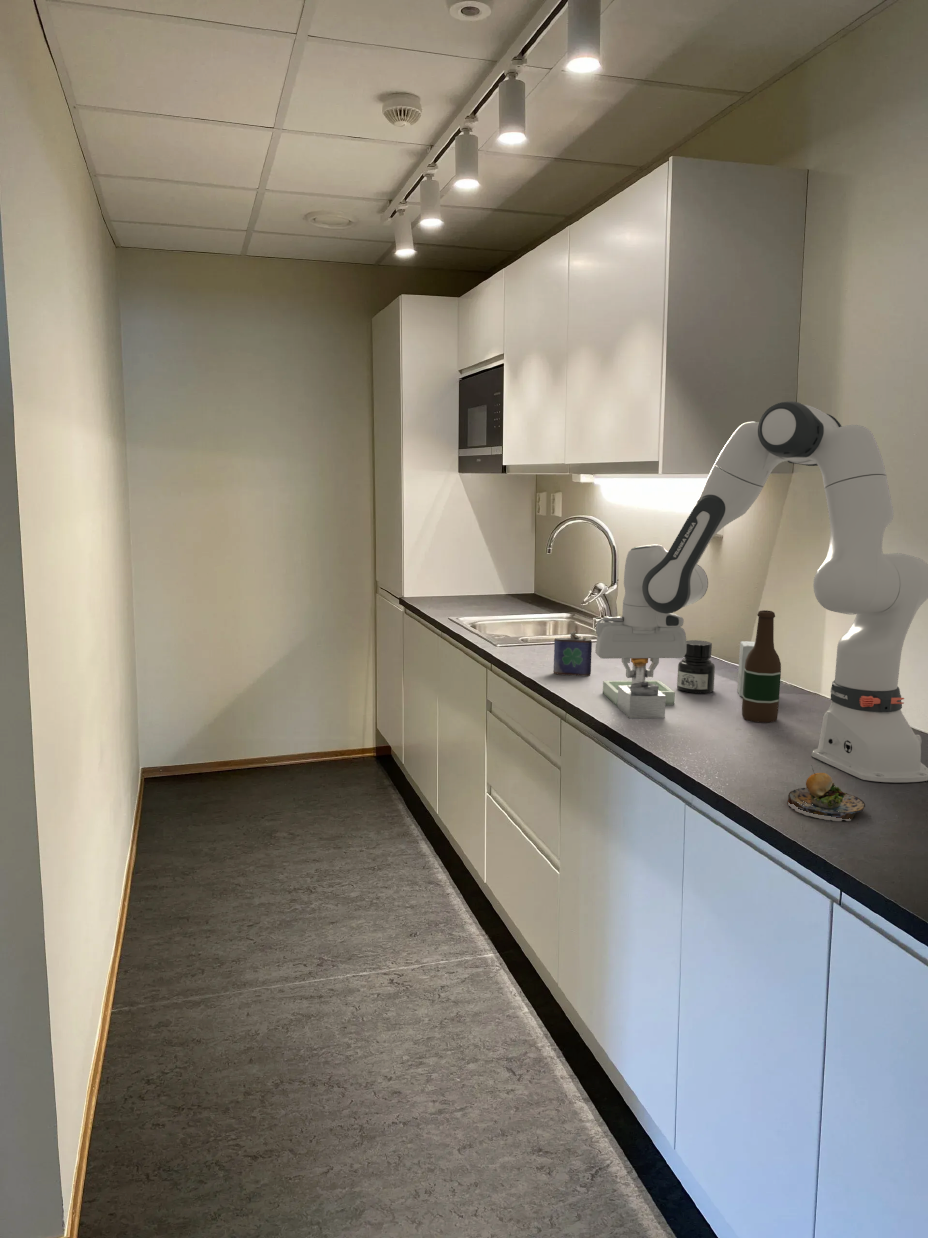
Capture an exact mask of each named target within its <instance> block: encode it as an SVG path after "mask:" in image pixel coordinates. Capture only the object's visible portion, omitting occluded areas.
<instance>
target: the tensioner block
mask: <svg viewBox="0 0 928 1238" xmlns="http://www.w3.org/2000/svg"><path fill="white" fill-rule="evenodd" d="M665 702H666V696H665V695H664V694H663V693H662V692H660V691H659V690H658V686H657V685H655V684H650V683H648V682H641V683H634V684H631V686H618V701H617V705H616V706H617V707H616V708H618V709H619V710H620V711H621V712H622V713H623V714H624V715H625V716H626V717H627V718H628V717H629V718H628V719H666V705H665Z"/></svg>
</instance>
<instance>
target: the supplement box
mask: <svg viewBox="0 0 928 1238" xmlns="http://www.w3.org/2000/svg"><path fill="white" fill-rule="evenodd" d="M754 644H755V641H749V640H747V641H743V640H742V641H740V643H739V656H738V657H739V659H738V670H737V671H738V672H737V673H738V675H737V689H736V691H737V693H738V694H739V697H741V698H743V684H744V668H745V661H746V658H747V656H748V654H749V652H750V651H751V650H752V649H753V647H754Z"/></svg>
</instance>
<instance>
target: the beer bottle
mask: <svg viewBox="0 0 928 1238" xmlns="http://www.w3.org/2000/svg"><path fill="white" fill-rule="evenodd" d="M756 614H757V617H758V620H757V626H756V635H755V641H754V642H755V644H754V647H753V649H752V650H751V651H750V652H749V654H748V656H747V658H746V661H745V668H744V684H743V697H742V701H741V702H742V703H741V704H742V705H741V715H742V718H743V719H744V720H745V721H750V722H752V723H753V722H754V723H761V724H762V723H763V724H770V723H774V722H777V720H778V715H779V703H780V690H781V687H780V686H781V678H782V677H781V675H782V662H781V659H780V657H779V655H778V653H777V650H775V643H774V641H775V640H774V634H775V633H774V631H775V630H774V629H775V628H774V627H775V624H774V623H775V622H774V621H775V620H774V619H775V617H776V614H775V612H774V611H772V610H768V609H767V610H763V609H762V610H759V611H758V612H757V613H756Z"/></svg>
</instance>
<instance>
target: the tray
mask: <svg viewBox="0 0 928 1238" xmlns="http://www.w3.org/2000/svg"><path fill="white" fill-rule="evenodd" d="M645 682H648V683H650V684H655V685H657V686H658V690H659V691H660V692H662V693H663V694H664V695H665V696H666V702H665V706H667V705H669V706H670V705H675V701H676V700H675V698H676V696H675V694H676V691H674V690H673V689H672V688H670V687H669V686H667V685H666V684H664V682H662V681H661V680H659V679H658V680H651V679H650V680H647V679H645ZM631 684H632V680H603V681H602V694H603V695H604V696H605V697H606V698H607V699H609V700H610V702H612V704H614V706H617V701H618V686H631Z"/></svg>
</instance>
